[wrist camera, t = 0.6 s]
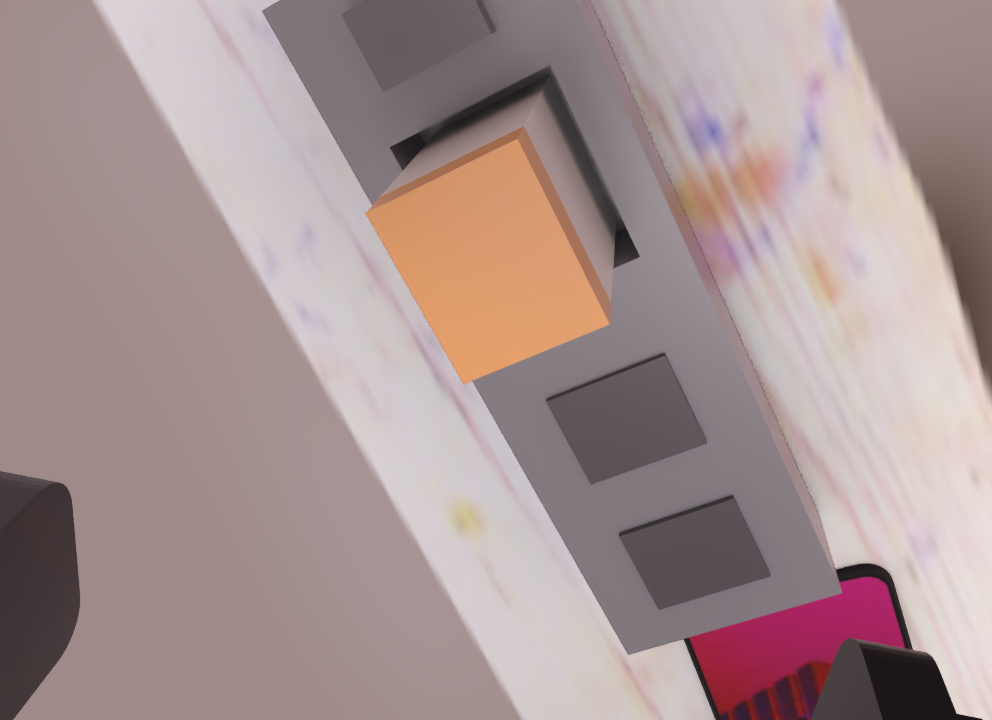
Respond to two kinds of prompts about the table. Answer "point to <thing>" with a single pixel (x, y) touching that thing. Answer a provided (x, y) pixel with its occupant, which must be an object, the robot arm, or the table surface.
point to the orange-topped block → (503, 232)
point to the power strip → (609, 350)
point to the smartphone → (794, 648)
